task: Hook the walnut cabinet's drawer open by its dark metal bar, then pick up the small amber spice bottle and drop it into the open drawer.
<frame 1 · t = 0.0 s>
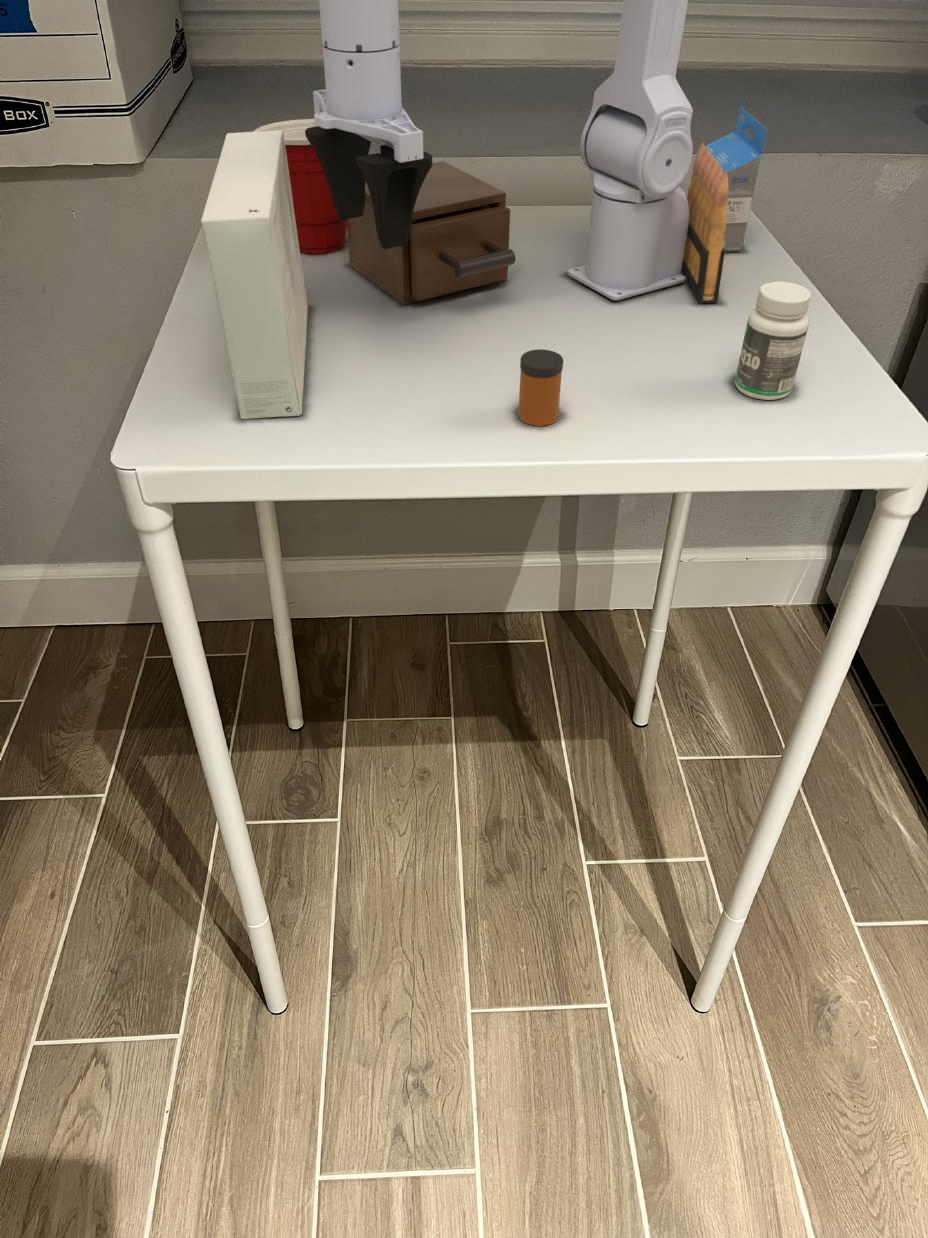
hand: (371, 230, 80), 10 cm above the table, tool pointing down, fingers open, 7 cm apart
ammunition clip: (695, 283, 98), on the table
bottle: (538, 416, 78), on the table
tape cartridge: (714, 239, 107), on the table
skincare box: (274, 361, 85), on the table
plastic cup: (317, 245, 105), on the table
drawer: (447, 244, 94), point 4 cm above the table, slide at 0.5 cm
pill bottle: (762, 389, 82), on the table
cabinet: (425, 272, 99), on the table
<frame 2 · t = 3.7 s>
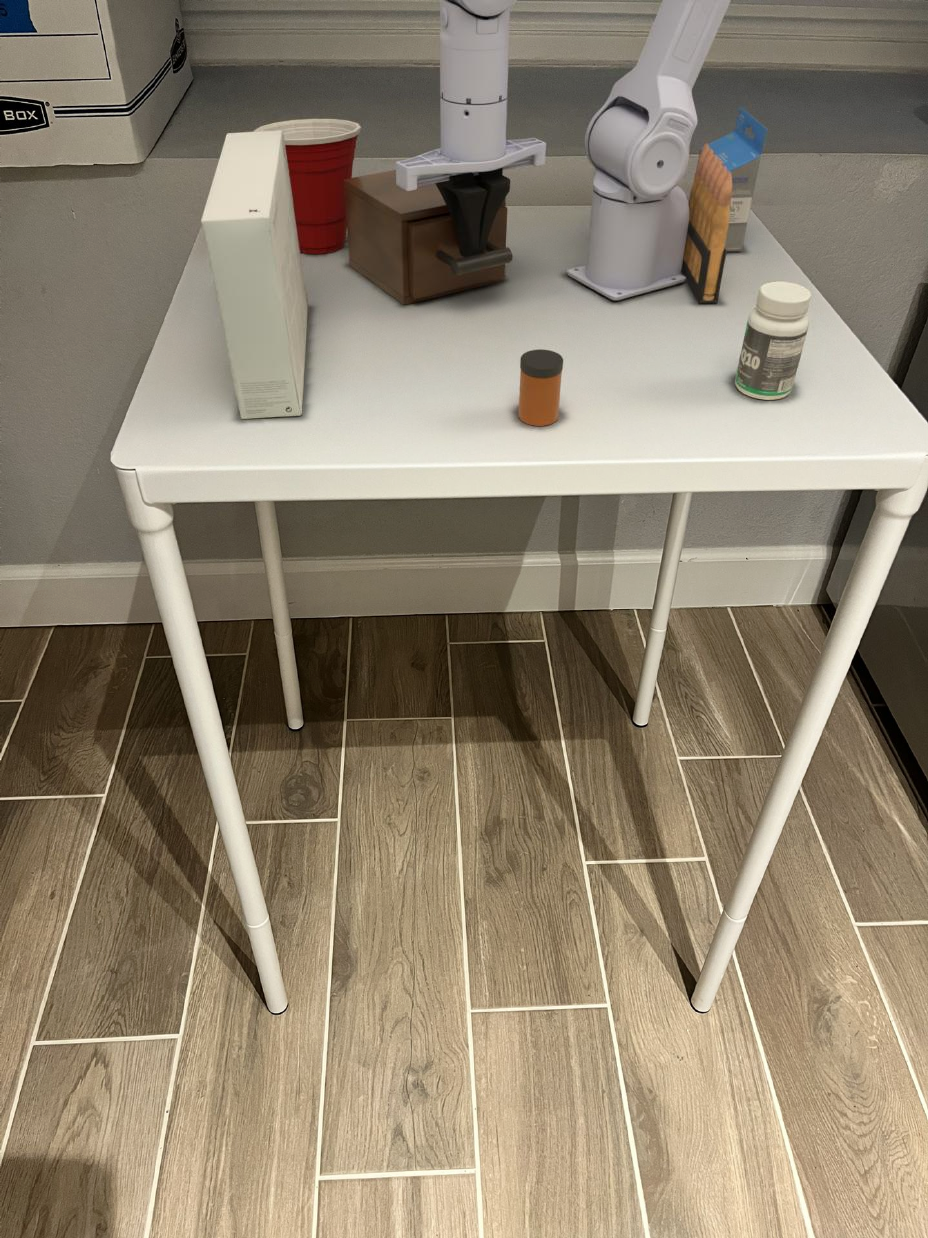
hand: (471, 256, 91), 5 cm above the table, tool pointing down, fingers closed, pressing on drawer
drawer: (444, 242, 94), point 4 cm above the table, slide at 0.0 cm, touching gripper
everything else where it was.
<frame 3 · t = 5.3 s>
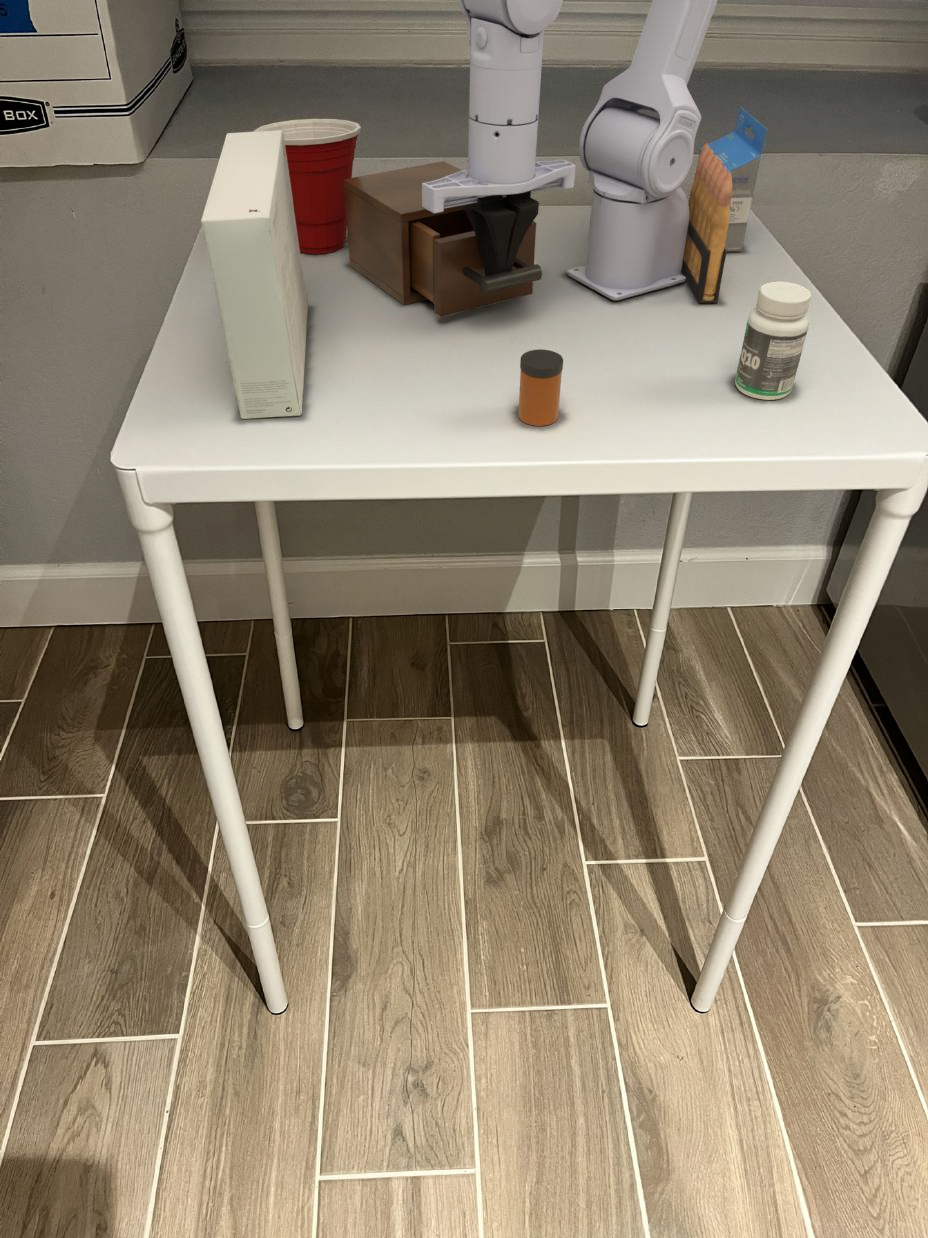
hand: (496, 280, 88), 4 cm above the table, tool pointing down, fingers closed, pressing on drawer
drawer: (470, 258, 91), point 4 cm above the table, slide at 4.8 cm, touching gripper
everything else where it was.
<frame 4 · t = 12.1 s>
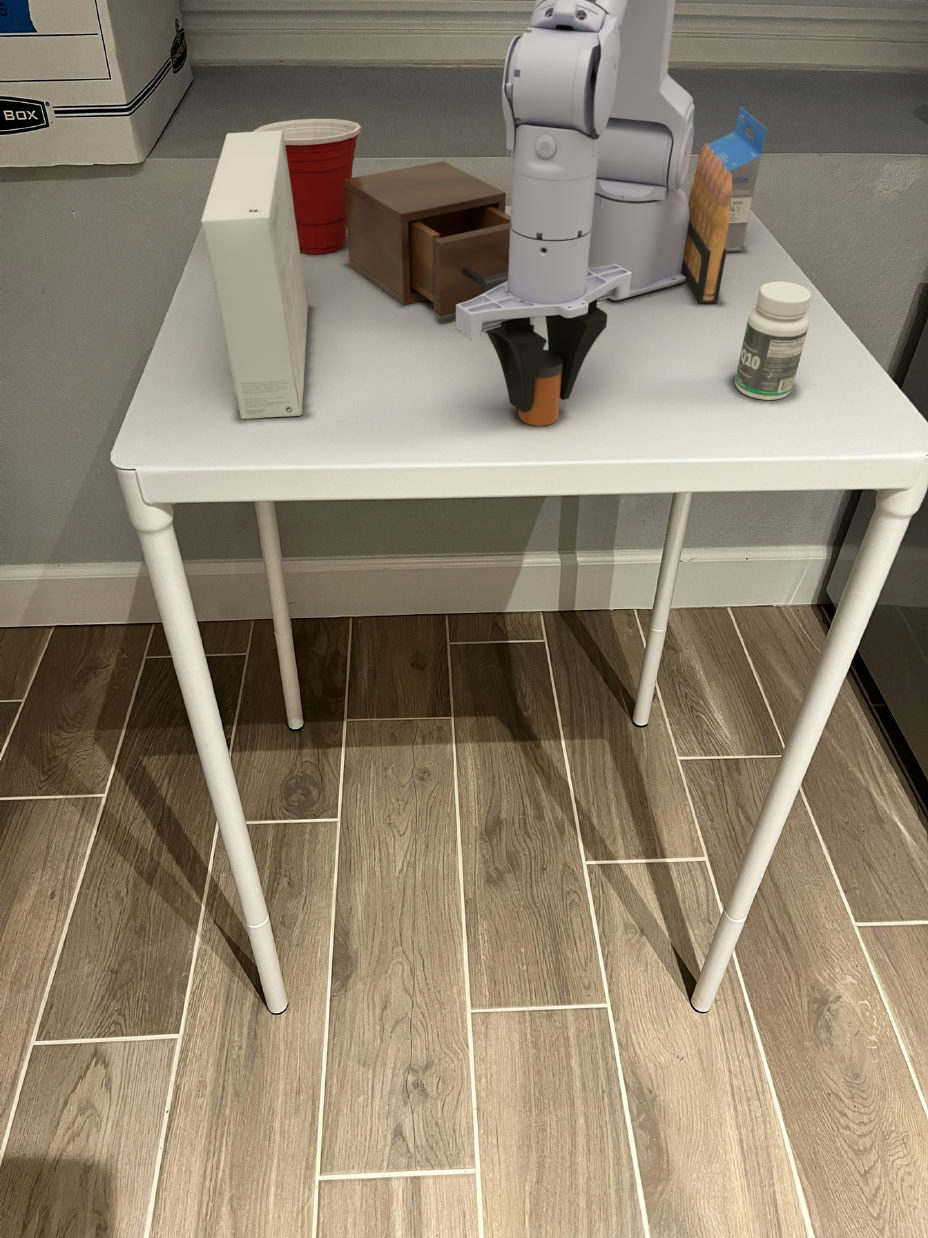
hand: (539, 400, 77), 1 cm above the table, tool pointing down, fingers closed on bottle, 3 cm apart
bottle: (538, 415, 78), on the table, touching gripper
drawer: (470, 258, 91), point 4 cm above the table, slide at 4.7 cm
everything else where it was.
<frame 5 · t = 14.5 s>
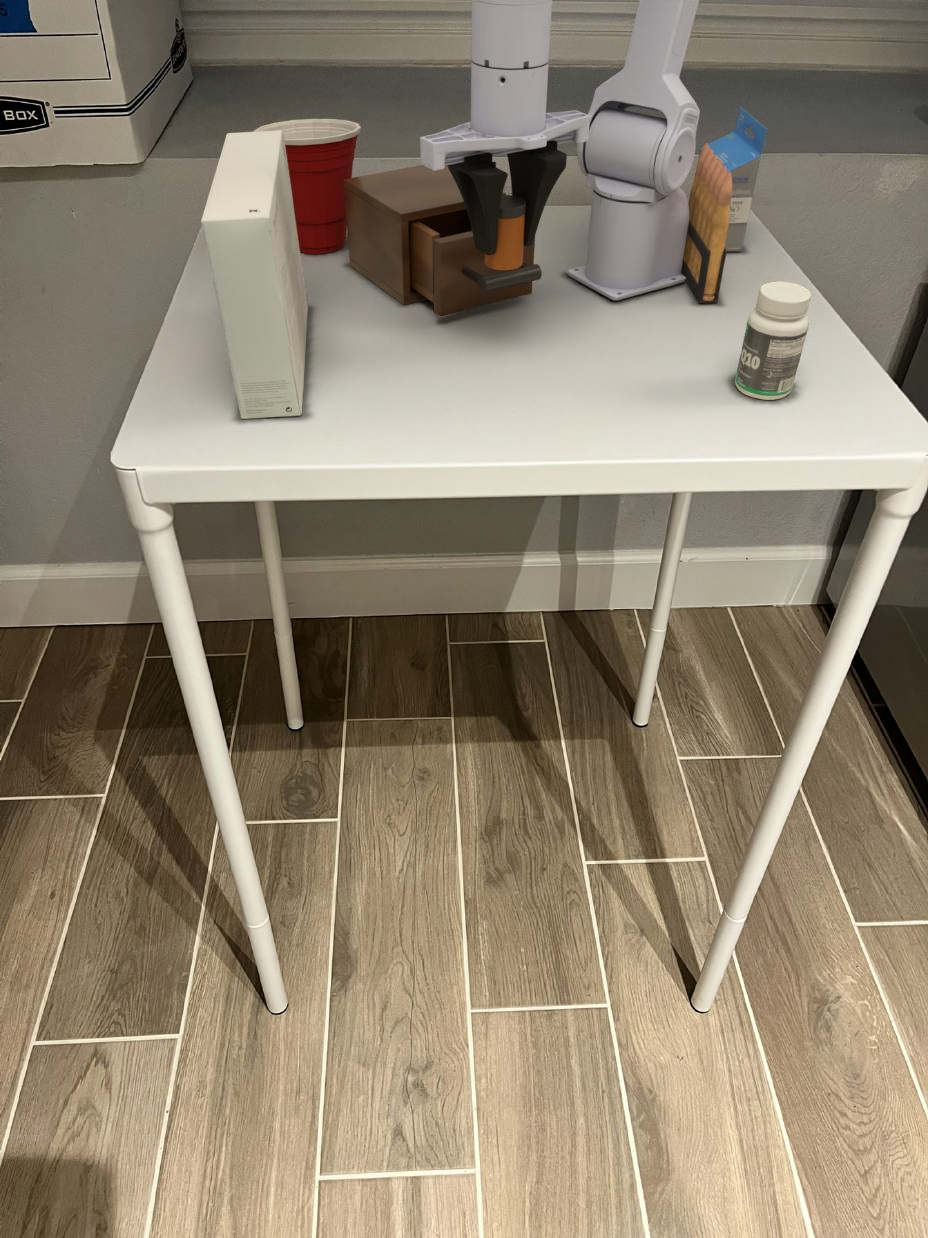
hand: (503, 246, 80), 9 cm above the table, tool pointing down, fingers closed on bottle, 3 cm apart
bottle: (503, 262, 81), point 8 cm above the table, touching gripper
everything else where it was.
when the fingers open (6 cm above the table, at t = 17.3 s): bottle drops 2 cm, resting on drawer.
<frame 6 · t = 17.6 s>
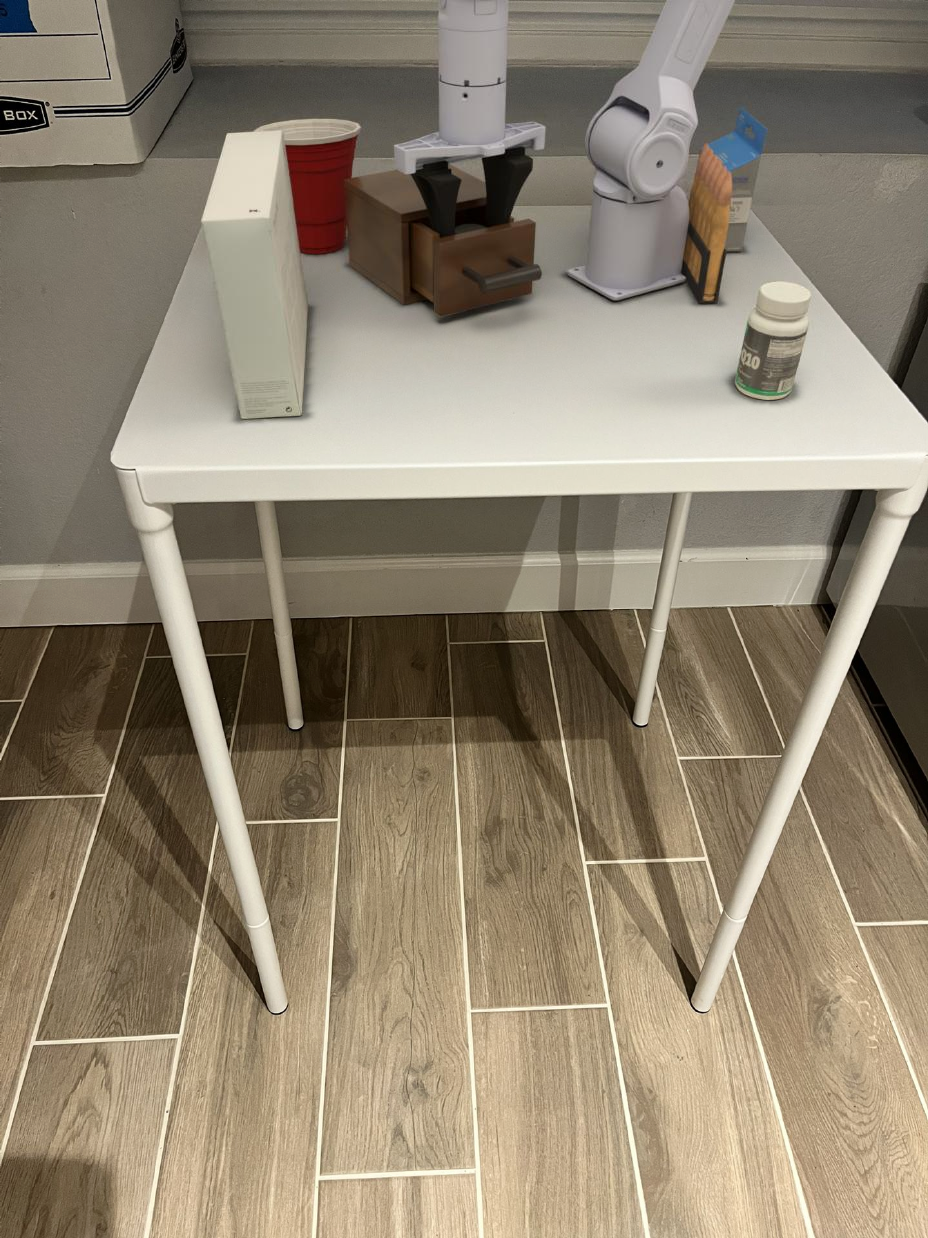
hand: (470, 241, 90), 6 cm above the table, tool pointing down, fingers open, 5 cm apart
bottle: (469, 282, 93), point 2 cm above the table, touching drawer
drawer: (470, 258, 91), point 4 cm above the table, slide at 4.7 cm, touching bottle
everything else where it was.
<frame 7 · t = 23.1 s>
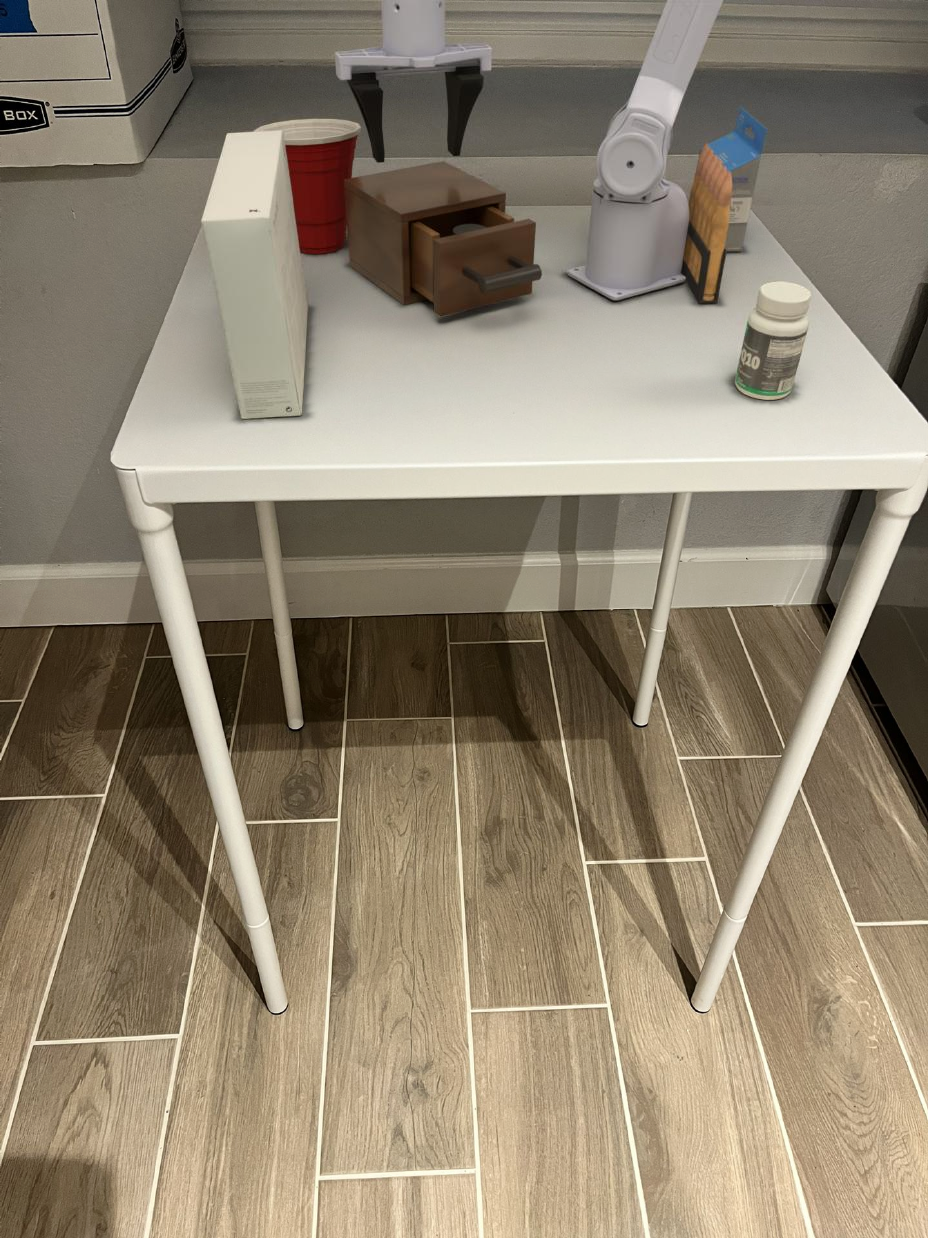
hand: (416, 156, 95), 10 cm above the table, tool pointing down, fingers open, 7 cm apart
nothing on the table moved.
at the end: drawer slide at 4.7 cm; bottle inside the target area in the drawer (0.8 cm from its centre), point 2.0 cm above the cabinet's base; the gripper is holding nothing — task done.
